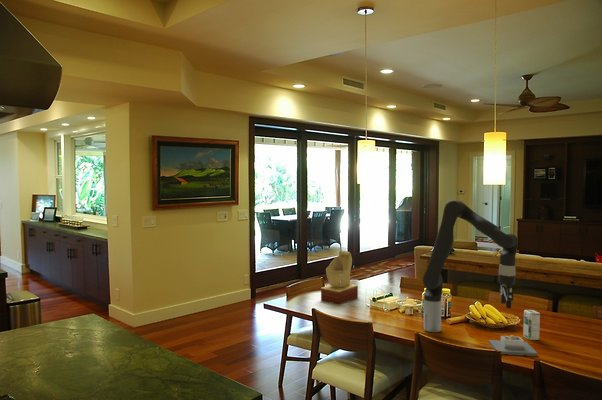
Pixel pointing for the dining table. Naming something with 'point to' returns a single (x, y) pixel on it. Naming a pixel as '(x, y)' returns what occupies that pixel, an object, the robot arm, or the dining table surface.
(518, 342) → the steel link
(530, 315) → the syrup box
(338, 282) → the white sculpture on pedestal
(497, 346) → the board
